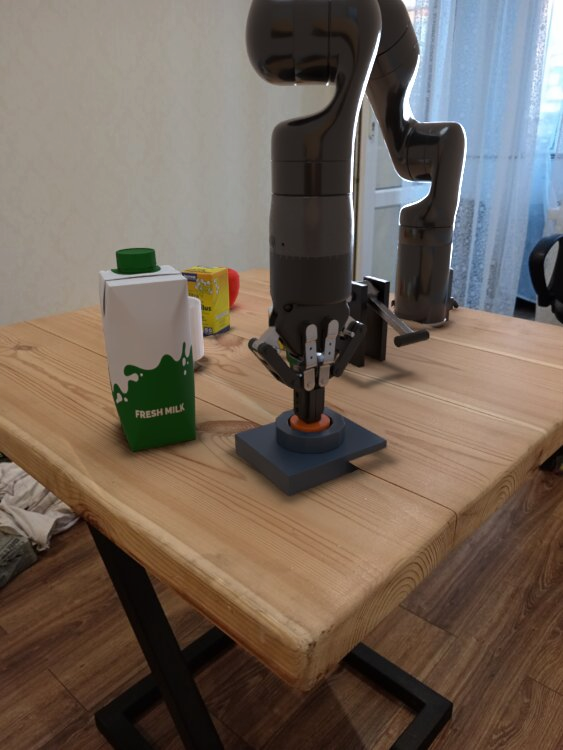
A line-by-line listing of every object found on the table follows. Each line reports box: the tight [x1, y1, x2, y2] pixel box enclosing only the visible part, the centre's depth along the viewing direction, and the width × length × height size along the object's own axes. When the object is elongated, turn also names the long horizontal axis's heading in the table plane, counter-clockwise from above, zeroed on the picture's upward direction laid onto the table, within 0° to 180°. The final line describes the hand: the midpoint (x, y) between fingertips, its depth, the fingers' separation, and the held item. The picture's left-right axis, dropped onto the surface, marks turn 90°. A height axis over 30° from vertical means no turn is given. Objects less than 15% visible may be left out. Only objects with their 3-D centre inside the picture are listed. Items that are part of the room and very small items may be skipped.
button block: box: [234, 406, 388, 497], centre depth 59 cm, size 12×10×4 cm
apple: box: [217, 266, 241, 309], centre depth 113 cm, size 9×9×8 cm
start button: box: [290, 414, 330, 432], centre depth 58 cm, size 4×4×2 cm
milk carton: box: [98, 247, 197, 453], centre depth 61 cm, size 9×9×20 cm
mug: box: [188, 296, 205, 371], centre depth 82 cm, size 12×9×9 cm
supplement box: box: [180, 265, 231, 337], centre depth 98 cm, size 6×6×11 cm
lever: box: [356, 280, 431, 348], centre depth 76 cm, size 12×5×2 cm, turn 34°
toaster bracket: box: [338, 275, 391, 368], centre depth 80 cm, size 10×8×13 cm
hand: (309, 419), depth 58 cm, fingers closed
